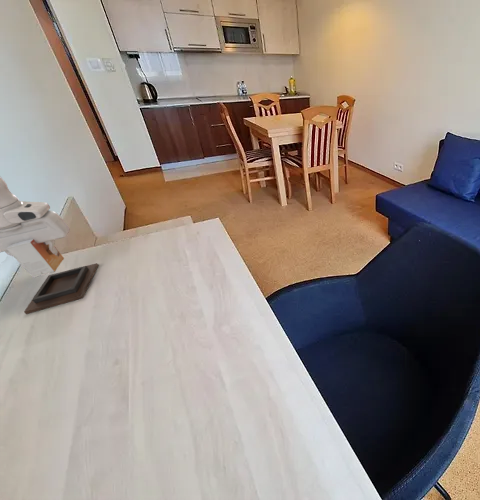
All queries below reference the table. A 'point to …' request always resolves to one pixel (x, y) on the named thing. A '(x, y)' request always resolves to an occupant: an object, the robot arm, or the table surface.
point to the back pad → (62, 288)
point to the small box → (35, 257)
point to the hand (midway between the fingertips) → (40, 256)
